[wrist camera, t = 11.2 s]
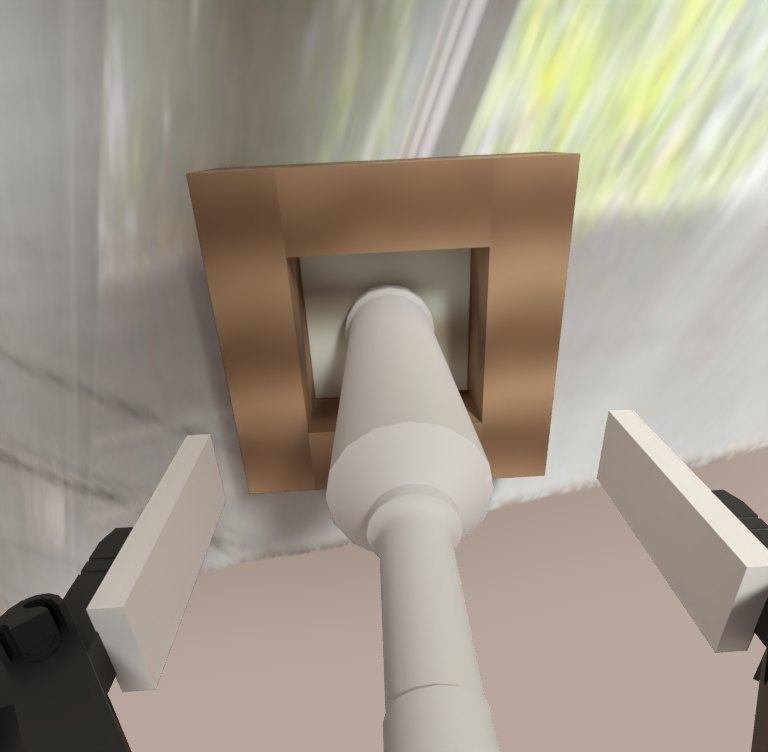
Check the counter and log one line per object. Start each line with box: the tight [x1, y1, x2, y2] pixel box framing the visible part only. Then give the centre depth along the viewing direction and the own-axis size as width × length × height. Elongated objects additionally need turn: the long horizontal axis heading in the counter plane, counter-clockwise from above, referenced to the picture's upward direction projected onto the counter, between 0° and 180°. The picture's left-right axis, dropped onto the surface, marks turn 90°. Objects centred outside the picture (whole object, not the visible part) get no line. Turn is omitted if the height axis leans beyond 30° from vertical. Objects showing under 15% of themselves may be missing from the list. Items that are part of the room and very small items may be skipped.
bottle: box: [325, 283, 500, 752], centre depth 19 cm, size 5×5×25 cm
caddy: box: [186, 152, 580, 494], centre depth 29 cm, size 18×18×5 cm
